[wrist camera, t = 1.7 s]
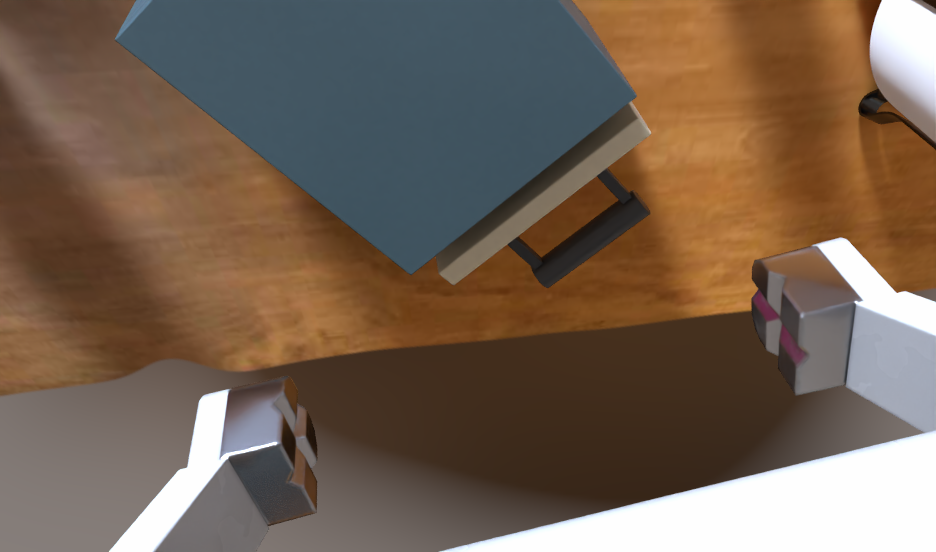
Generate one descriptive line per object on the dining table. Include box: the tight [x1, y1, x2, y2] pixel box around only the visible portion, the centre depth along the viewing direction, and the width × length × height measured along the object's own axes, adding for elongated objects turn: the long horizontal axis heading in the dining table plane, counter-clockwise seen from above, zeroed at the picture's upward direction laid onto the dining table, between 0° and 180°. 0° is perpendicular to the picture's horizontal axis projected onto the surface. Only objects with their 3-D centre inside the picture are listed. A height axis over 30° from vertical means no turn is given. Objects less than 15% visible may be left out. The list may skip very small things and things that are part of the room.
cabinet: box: [115, 0, 637, 275], centre depth 38 cm, size 17×14×9 cm
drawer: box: [436, 101, 651, 288], centre depth 41 cm, size 21×13×7 cm, turn 41°
